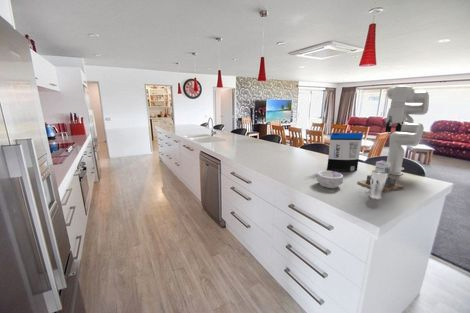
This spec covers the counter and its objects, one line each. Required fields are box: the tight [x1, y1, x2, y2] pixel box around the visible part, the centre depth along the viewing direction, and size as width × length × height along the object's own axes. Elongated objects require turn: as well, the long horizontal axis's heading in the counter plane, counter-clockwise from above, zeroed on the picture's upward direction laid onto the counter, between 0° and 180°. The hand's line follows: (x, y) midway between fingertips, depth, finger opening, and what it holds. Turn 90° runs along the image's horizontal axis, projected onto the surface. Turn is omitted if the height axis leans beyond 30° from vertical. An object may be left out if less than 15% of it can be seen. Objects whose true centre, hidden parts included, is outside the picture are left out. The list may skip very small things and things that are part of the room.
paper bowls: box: [316, 170, 344, 189], centre depth 134 cm, size 15×15×8 cm
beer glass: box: [368, 169, 387, 201], centre depth 116 cm, size 7×7×15 cm
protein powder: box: [326, 132, 363, 173], centre depth 166 cm, size 10×24×30 cm, turn 90°
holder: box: [357, 174, 405, 193], centre depth 135 cm, size 20×16×6 cm
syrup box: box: [374, 160, 391, 179], centre depth 134 cm, size 6×6×14 cm
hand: (392, 131), depth 142 cm, fingers open, 9 cm apart
